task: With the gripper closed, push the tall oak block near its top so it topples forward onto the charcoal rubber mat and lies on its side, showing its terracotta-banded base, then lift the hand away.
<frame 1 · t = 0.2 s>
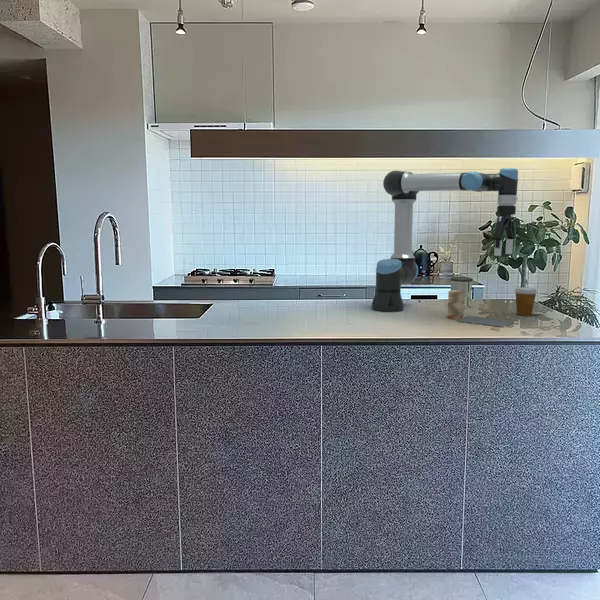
hand: (503, 254, 244), 28 cm above the countertop, tool pointing down, fingers open, 13 cm apart
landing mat: (484, 321, 238), on the countertop
disposable coffee cup: (524, 314, 256), on the countertop
oak block: (455, 318, 246), on the countertop
lidded glass jar: (460, 306, 276), on the countertop
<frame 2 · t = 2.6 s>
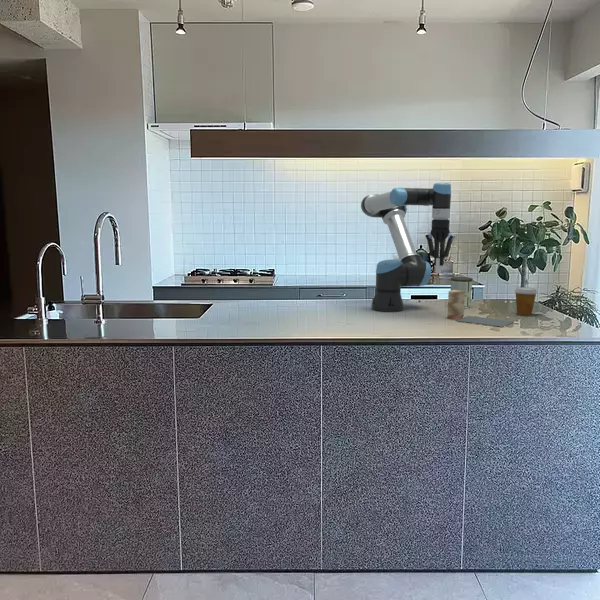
hand: (438, 272, 248), 19 cm above the countertop, tool pointing down, fingers closed
nothing on the countertop moved.
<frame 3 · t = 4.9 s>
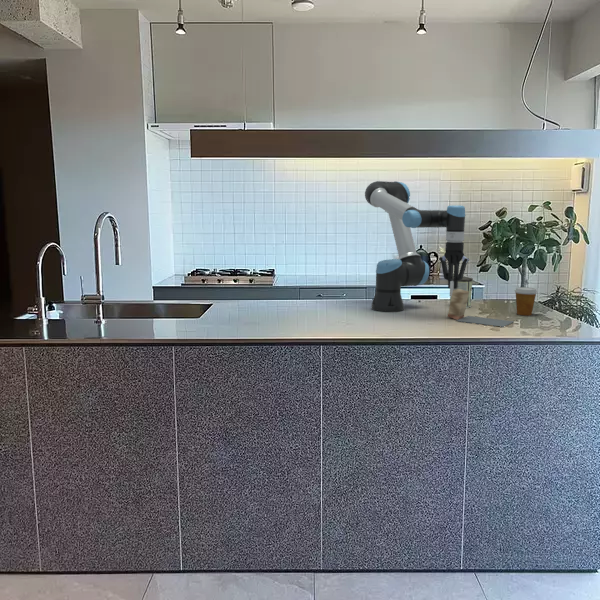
hand: (452, 295, 245), 10 cm above the countertop, tool pointing down, fingers closed
oak block: (455, 317, 246), on the countertop, tilted 9°, touching gripper
everything else where it was.
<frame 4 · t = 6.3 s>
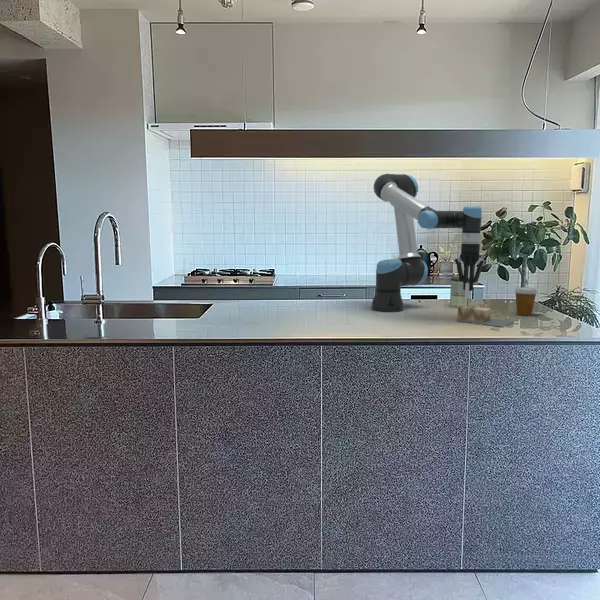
hand: (467, 298, 242), 9 cm above the countertop, tool pointing down, fingers closed
oak block: (460, 312, 244), point 3 cm above the countertop, tilted 90°, touching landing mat
everything else where it was.
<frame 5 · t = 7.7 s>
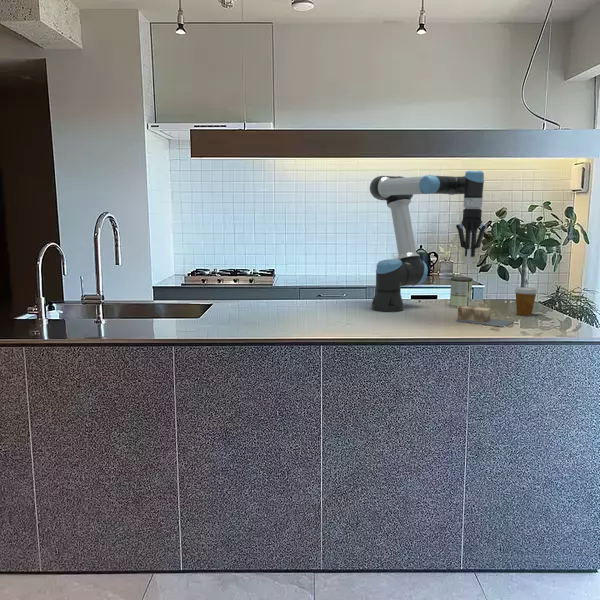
hand: (469, 264, 239), 24 cm above the countertop, tool pointing down, fingers closed
nothing on the countertop moved.
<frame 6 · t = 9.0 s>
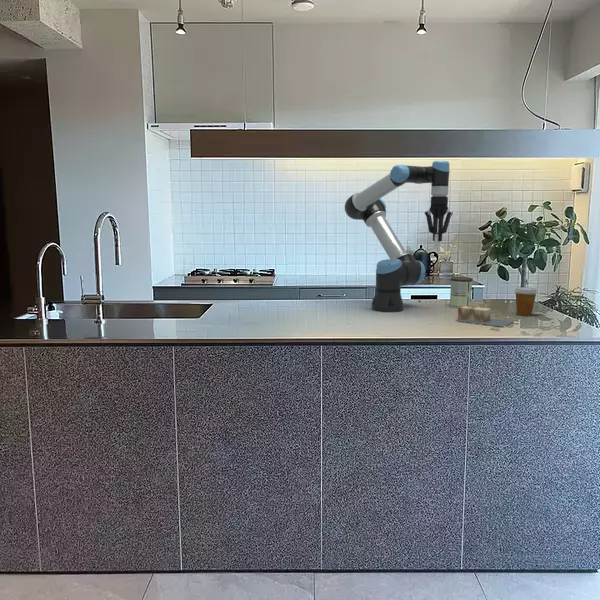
hand: (436, 248, 257), 29 cm above the countertop, tool pointing down, fingers closed
nothing on the countertop moved.
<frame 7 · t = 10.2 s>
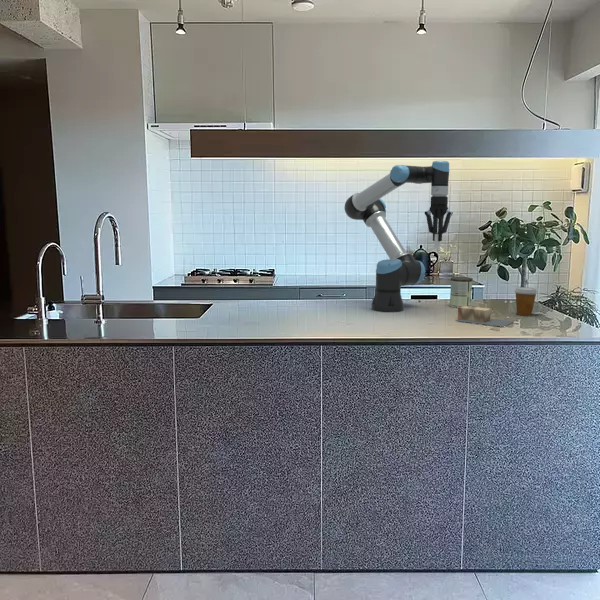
hand: (436, 248, 257), 29 cm above the countertop, tool pointing down, fingers closed
nothing on the countertop moved.
at the end: oak block tilted 90°; oak block inside the target area (3.3 cm from its centre), point 2.9 cm above the countertop; oak block touching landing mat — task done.
